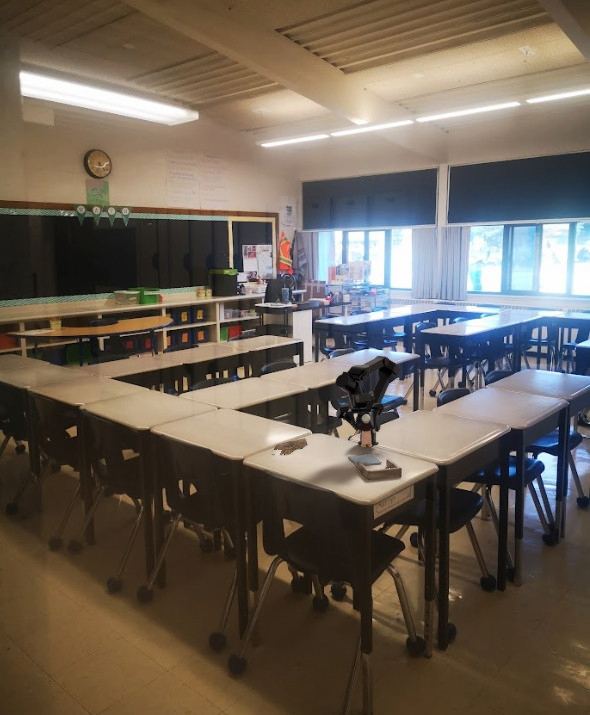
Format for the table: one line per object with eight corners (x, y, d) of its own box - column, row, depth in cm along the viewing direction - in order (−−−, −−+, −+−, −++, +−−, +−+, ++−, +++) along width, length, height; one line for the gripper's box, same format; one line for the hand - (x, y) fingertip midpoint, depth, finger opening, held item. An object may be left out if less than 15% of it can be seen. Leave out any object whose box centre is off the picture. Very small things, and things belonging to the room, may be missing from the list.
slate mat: (347, 457, 237) (347, 456, 237) (371, 455, 240) (371, 454, 240) (357, 466, 228) (357, 464, 227) (381, 463, 230) (381, 462, 230)
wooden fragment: (283, 458, 237) (283, 455, 237) (261, 452, 243) (261, 450, 243) (318, 442, 258) (318, 439, 258) (297, 437, 264) (297, 435, 264)
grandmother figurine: (372, 443, 236) (372, 412, 234) (376, 446, 232) (377, 414, 230) (354, 445, 233) (354, 413, 231) (358, 448, 230) (359, 416, 228)
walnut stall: (356, 469, 224) (356, 461, 224) (388, 466, 228) (388, 458, 227) (368, 479, 214) (368, 471, 213) (401, 476, 217) (401, 468, 217)
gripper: (338, 385, 231) (348, 421, 222) (383, 383, 236) (394, 417, 227) (331, 400, 240) (341, 435, 231) (374, 397, 245) (385, 431, 236)
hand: (365, 429), depth 231 cm, fingers closed on grandmother figurine, 7 cm apart
